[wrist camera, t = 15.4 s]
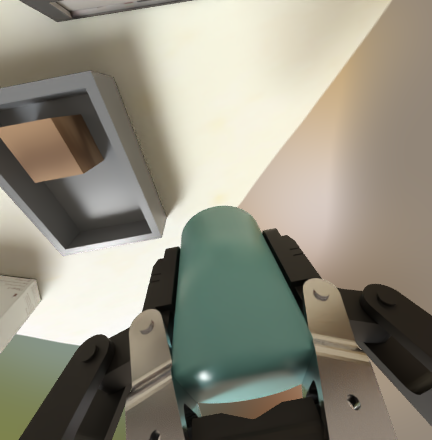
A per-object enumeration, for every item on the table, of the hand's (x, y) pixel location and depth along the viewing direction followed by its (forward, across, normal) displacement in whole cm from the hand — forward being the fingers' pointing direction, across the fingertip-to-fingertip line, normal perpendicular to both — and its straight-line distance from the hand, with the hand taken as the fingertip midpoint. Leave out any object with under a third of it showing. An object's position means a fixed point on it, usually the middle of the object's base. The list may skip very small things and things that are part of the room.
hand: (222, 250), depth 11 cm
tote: (+17, +15, -2) cm, 23 cm away
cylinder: (+1, 0, 0) cm, 1 cm away
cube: (+16, +15, -6) cm, 23 cm away
